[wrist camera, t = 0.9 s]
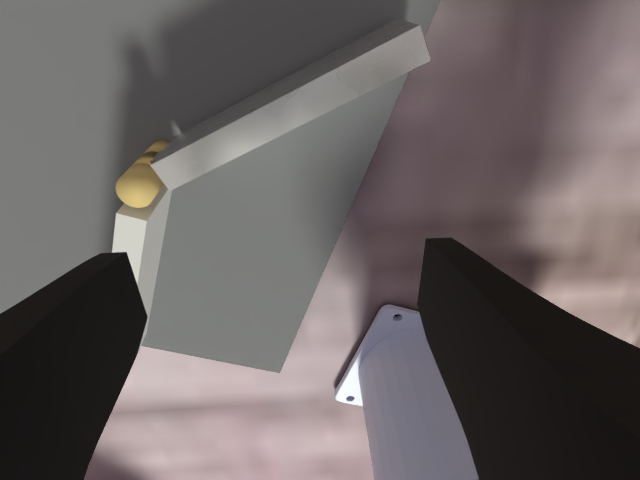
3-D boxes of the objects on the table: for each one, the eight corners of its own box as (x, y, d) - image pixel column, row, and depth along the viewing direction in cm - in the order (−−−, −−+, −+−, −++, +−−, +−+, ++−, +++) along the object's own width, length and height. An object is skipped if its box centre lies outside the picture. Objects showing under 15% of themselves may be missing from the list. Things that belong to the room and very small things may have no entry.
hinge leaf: (159, 176, 16) (132, 213, 14) (140, 150, 16) (107, 183, 13) (406, 50, 14) (432, 63, 12) (394, 15, 14) (418, 21, 11)
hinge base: (467, -85, 13) (535, -116, 10) (280, 359, 24) (277, 429, 20) (-88, -359, 10) (-323, -575, 6) (-22, 297, 21) (-95, 367, 17)
